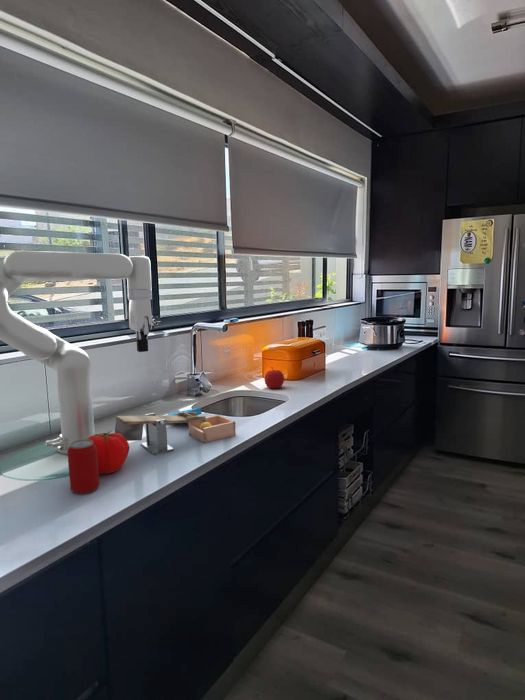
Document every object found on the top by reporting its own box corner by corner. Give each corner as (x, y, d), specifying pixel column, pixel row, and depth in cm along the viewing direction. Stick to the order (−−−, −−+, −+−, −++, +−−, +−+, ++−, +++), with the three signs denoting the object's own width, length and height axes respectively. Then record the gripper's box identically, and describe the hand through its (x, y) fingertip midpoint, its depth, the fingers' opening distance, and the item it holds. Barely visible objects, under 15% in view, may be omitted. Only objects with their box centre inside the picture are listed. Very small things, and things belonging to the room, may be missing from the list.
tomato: (99, 484, 120) (96, 444, 119) (71, 473, 127) (67, 435, 126) (140, 466, 131) (138, 429, 129) (112, 457, 138) (109, 422, 136)
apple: (273, 391, 215) (272, 369, 214) (260, 387, 222) (260, 367, 221) (288, 387, 221) (287, 366, 220) (275, 384, 228) (275, 364, 226)
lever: (122, 441, 135) (124, 417, 135) (114, 435, 141) (116, 412, 140) (203, 437, 151) (205, 416, 150) (193, 432, 156) (195, 411, 156)
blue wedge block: (164, 436, 171) (199, 430, 161) (159, 417, 171) (194, 410, 161) (177, 430, 176) (212, 425, 166) (172, 412, 176) (207, 405, 166)
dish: (204, 442, 149) (204, 428, 148) (189, 434, 158) (188, 421, 157) (235, 434, 156) (235, 421, 155) (219, 427, 164) (218, 414, 164)
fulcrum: (155, 455, 139) (153, 422, 138) (141, 444, 148) (139, 414, 147) (173, 450, 143) (172, 419, 141) (158, 440, 152) (157, 411, 150)
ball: (214, 422, 154) (214, 434, 155) (208, 420, 158) (208, 431, 158) (204, 424, 152) (203, 436, 152) (198, 421, 155) (197, 433, 156)
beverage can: (103, 483, 121) (99, 438, 119) (94, 495, 114) (91, 447, 112) (76, 484, 120) (72, 438, 119) (66, 496, 114) (62, 448, 112)
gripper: (121, 295, 156) (124, 349, 159) (135, 295, 144) (138, 355, 147) (143, 294, 160) (146, 348, 163) (159, 295, 148) (161, 353, 150)
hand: (142, 351), depth 155 cm, fingers closed
